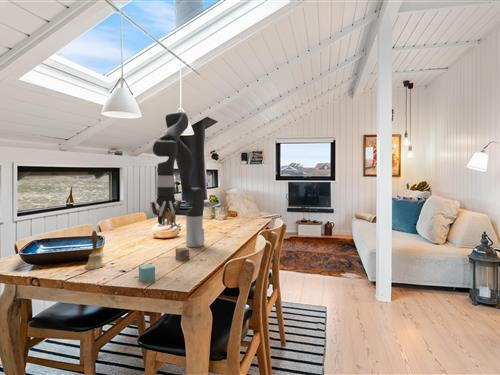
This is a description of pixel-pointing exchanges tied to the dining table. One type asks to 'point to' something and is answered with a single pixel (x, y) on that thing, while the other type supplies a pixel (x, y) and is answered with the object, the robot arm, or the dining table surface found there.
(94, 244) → the hand bell
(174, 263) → the dining table surface
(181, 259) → the walnut block
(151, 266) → the teal block
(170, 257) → the dining table surface
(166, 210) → the lion figurine
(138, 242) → the dining table surface
